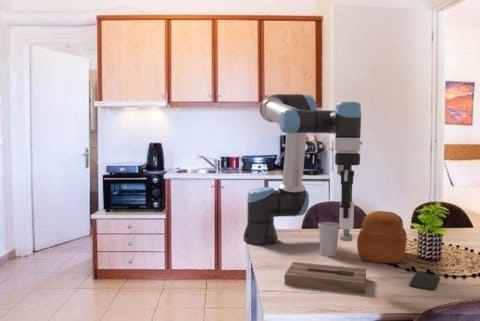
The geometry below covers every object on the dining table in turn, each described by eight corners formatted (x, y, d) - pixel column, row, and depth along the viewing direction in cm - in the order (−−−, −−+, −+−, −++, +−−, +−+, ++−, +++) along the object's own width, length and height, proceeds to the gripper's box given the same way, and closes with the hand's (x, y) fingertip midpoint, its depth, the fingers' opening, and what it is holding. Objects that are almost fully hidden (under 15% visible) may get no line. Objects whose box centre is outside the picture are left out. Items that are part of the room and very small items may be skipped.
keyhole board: (293, 270, 147) (293, 261, 146) (365, 278, 139) (366, 268, 139) (284, 284, 133) (284, 274, 133) (364, 293, 126) (364, 282, 126)
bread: (406, 251, 172) (407, 210, 171) (405, 266, 152) (406, 220, 151) (361, 247, 178) (362, 207, 177) (354, 261, 159) (355, 216, 158)
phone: (440, 275, 141) (434, 289, 128) (440, 278, 141) (434, 292, 128) (416, 272, 145) (408, 285, 132) (416, 274, 145) (408, 287, 132)
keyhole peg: (340, 237, 136) (340, 201, 135) (353, 238, 135) (353, 201, 134) (339, 240, 132) (339, 203, 132) (352, 241, 131) (353, 203, 130)
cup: (338, 257, 163) (339, 226, 162) (317, 256, 164) (318, 225, 164) (338, 252, 171) (338, 222, 170) (318, 250, 172) (318, 221, 171)
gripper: (358, 153, 123) (357, 233, 124) (361, 151, 139) (360, 222, 140) (332, 153, 125) (331, 231, 126) (337, 151, 141) (336, 221, 143)
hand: (346, 226), depth 133 cm, fingers closed on keyhole peg, 4 cm apart
